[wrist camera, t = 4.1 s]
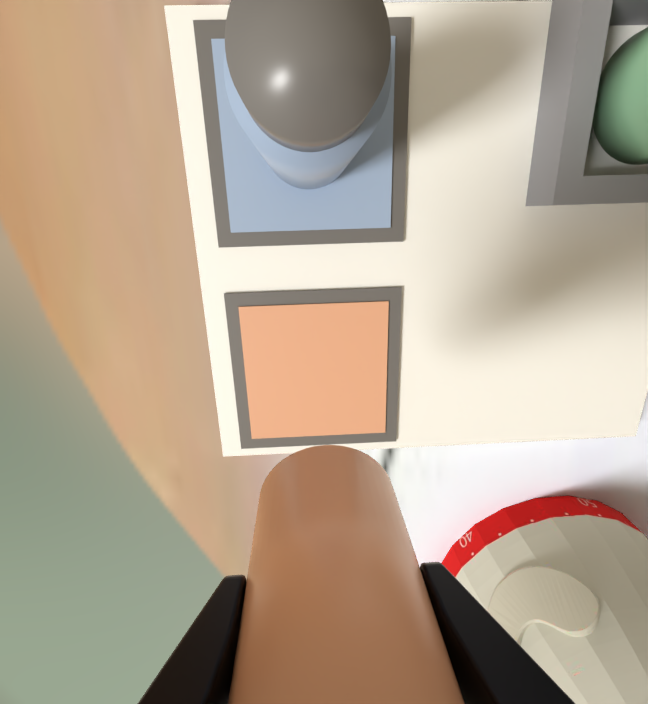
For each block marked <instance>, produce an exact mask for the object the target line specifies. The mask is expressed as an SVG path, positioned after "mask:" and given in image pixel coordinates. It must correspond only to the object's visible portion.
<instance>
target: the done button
mask: <svg viewBox="0 0 648 704" xmlns="http://www.w3.org/2000/svg"><path fill="white" fill-rule="evenodd" d="M592 124H593V129H594V133H595V135H596V138H597V140H598V142H599V144H600V145H601V147H602V148H603V149H604V151H605V152H606V153H607V154H608V155H610V156H611V157H612V158H614V159H615V160H617V161H619V162H622V163H625V164H630V165H644V164H648V27H647V28H645V29H643V30H642V31H640V32H638V33H636V34H635V35H633V36H632V37H630V38H629V39H628V40H627V41H625V42H624V43H623V44H622V45H621V46H620V47H619V48H618V49H617V50H616V51H615V53H614V54H613V55H612V56H611V58H610V59H609V61H608V62H607V64H606V65H605V67H604V69H603V71H602V73H601V75H600V80H599V86H598V91H597V97H596V103H595V109H594V115H593V121H592Z"/></svg>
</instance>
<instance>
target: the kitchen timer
mask: <svg viewBox="0 0 648 704" xmlns="http://www.w3.org/2000/svg"><path fill="white" fill-rule="evenodd" d="M441 564H443V565H444V566H445V567H446V568H447V569H448V570H449V572H450V573H451V574H452V575H453V576H454V577H455V578H456V579H457V580H458V581H459V582H460V583H461V584H462V585H463V586H464V587H465V588H466V589H467V590H468V591H469V592H470V594H471V595H472V596H473V597H474V598H475V599H476V600H477V601H478V602H479V603H480V604H481V605H482V606H483V607H484V608H485V609H486V610H487V611H488V612H489V613H490V614H491V616H492V617H493V618H494V619H495V620H496V621H497V622H498V623H499V624H500V625H501V626H502V627H503V628H504V629H505V630H506V631H507V632H508V633H509V634H510V635H511V637H512V638H513V639H514V640H515V641H516V642H517V643H518V644H519V645H520V646H521V647H522V648H523V649H524V650H525V651H526V652H527V653H528V654H529V655H530V656H531V657H532V659H533V660H534V661H535V662H536V663H537V664H538V665H539V666H540V667H541V668H542V669H543V670H544V671H545V672H546V673H547V674H548V675H549V676H550V677H551V678H552V679H553V681H554V682H555V683H556V684H557V685H558V686H559V687H560V688H561V689H562V690H563V691H564V692H565V693H566V694H567V695H568V696H569V697H570V698H571V699H572V700H573V702H574V703H575V704H648V539H647V538H646V536H645V535H644V534H643V533H642V532H641V531H640V530H639V529H638V528H637V527H636V526H635V525H633V524H632V523H631V522H630V521H629V520H628V519H627V518H626V517H625V516H624V515H623V514H622V513H620V512H618V511H616V510H615V509H613V508H611V507H609V506H607V505H605V504H603V503H601V502H599V501H596V500H590V499H584V498H578V497H573V496H558V497H545V498H535V499H531V500H528V501H525V502H522V503H519V504H515V505H512V506H509V507H506V508H503V509H501V510H499V511H498V512H496V513H494V514H492V515H491V516H489V517H487V518H485V519H484V520H482V521H480V522H478V523H477V524H475V525H474V526H473V527H472V528H471V529H469V530H468V531H467V532H466V533H465V534H464V535H463V536H462V537H461V538H460V539H459V540H458V541H457V542H456V543H455V544H454V545H452V547H451V549H450V550H449V552H448V553H447V555H446V557H445V558H444V560H443V562H442V563H441Z"/></svg>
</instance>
